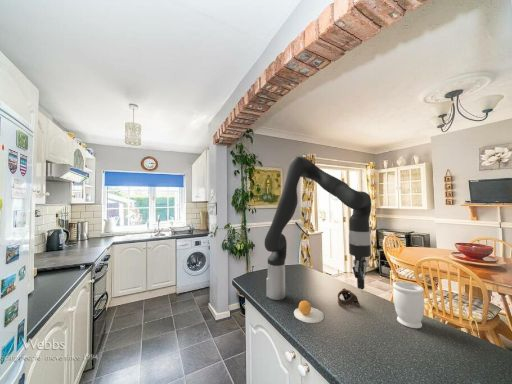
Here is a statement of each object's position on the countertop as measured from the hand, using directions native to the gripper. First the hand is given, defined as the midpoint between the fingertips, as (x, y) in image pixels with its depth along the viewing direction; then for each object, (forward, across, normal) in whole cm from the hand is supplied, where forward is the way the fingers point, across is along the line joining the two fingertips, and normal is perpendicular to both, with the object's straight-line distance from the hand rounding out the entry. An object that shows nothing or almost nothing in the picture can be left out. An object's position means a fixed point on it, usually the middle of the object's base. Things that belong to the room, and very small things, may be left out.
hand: (361, 288), depth 78 cm
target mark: (+17, 0, -22) cm, 28 cm away
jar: (+17, -20, +13) cm, 30 cm away
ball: (+14, 0, -23) cm, 27 cm away
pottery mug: (+17, -20, -10) cm, 29 cm away
